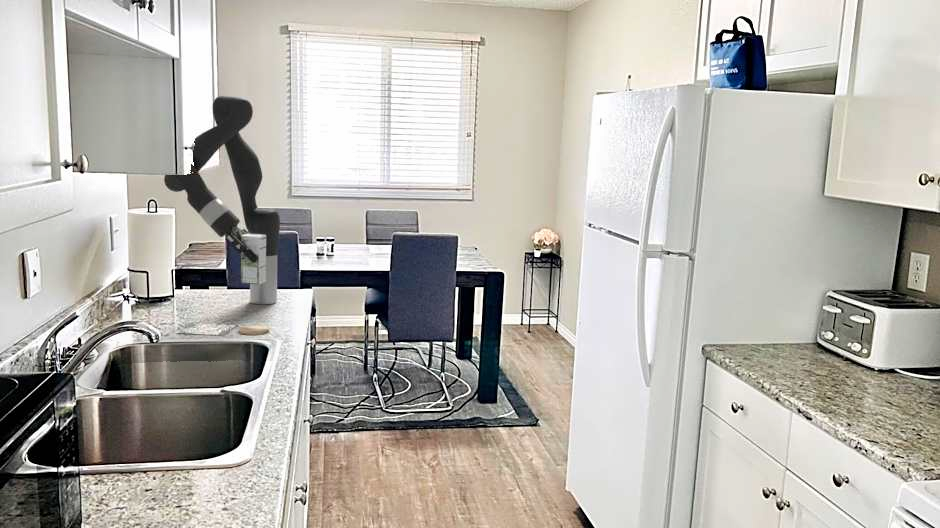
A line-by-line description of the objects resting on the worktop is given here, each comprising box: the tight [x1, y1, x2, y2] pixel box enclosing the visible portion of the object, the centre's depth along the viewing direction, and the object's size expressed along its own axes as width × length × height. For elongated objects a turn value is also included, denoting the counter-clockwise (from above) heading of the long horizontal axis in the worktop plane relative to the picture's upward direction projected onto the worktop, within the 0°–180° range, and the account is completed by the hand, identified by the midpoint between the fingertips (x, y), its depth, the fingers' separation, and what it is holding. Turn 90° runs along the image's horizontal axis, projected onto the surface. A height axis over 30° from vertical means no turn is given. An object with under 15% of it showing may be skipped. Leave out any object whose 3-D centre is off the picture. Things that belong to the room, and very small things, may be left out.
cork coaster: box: [237, 325, 270, 336], centre depth 221 cm, size 9×9×1 cm
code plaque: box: [185, 322, 235, 337], centre depth 221 cm, size 14×14×1 cm
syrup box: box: [240, 233, 266, 285], centre depth 218 cm, size 6×6×14 cm
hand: (259, 259), depth 218 cm, fingers closed on syrup box, 6 cm apart
